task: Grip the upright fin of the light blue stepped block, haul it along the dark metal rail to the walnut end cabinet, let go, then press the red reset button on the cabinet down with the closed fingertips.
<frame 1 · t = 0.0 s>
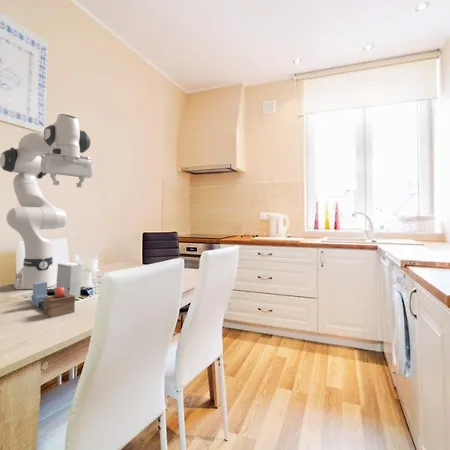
hand: (67, 186, 125), 48 cm above the table, tool pointing down, fingers open, 8 cm apart
reset button: (59, 291, 108), point 8 cm above the table, slide at 0.0 cm
light blue stepped block: (40, 293, 115), point 5 cm above the table, slide at 0.0 cm
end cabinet: (59, 313, 108), on the table
skincare box: (68, 297, 128), on the table
rail: (44, 308, 113), on the table
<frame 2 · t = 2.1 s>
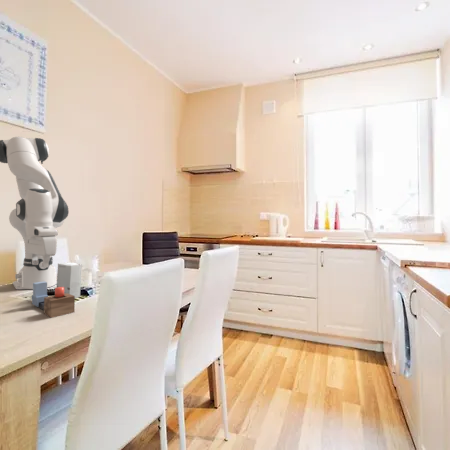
hand: (40, 266, 114), 16 cm above the table, tool pointing down, fingers open, 8 cm apart
nothing on the table moved.
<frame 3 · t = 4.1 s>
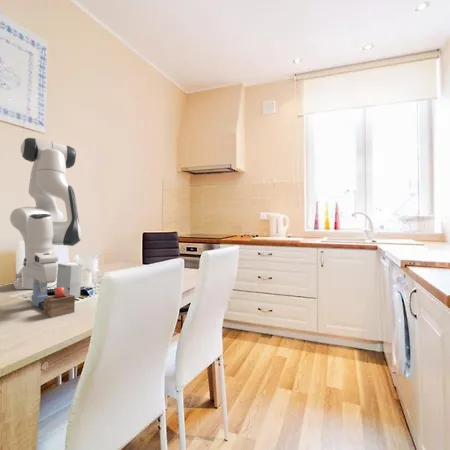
hand: (40, 290, 115), 6 cm above the table, tool pointing down, fingers closed on light blue stepped block, 2 cm apart
light blue stepped block: (40, 293, 115), point 5 cm above the table, slide at 0.0 cm, touching gripper
everything else where it was.
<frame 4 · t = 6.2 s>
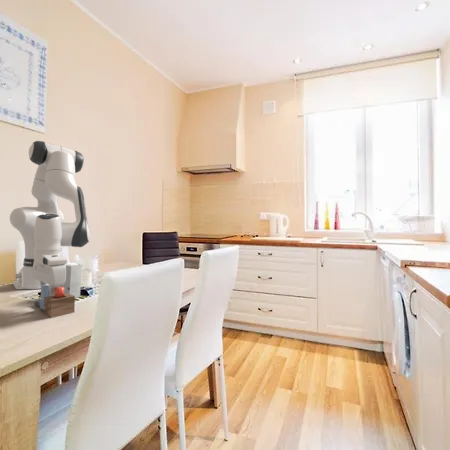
hand: (48, 294, 110), 6 cm above the table, tool pointing down, fingers open, 5 cm apart
reset button: (59, 291, 108), point 8 cm above the table, slide at 0.0 cm, touching gripper
light blue stepped block: (48, 297, 110), point 5 cm above the table, slide at 7.4 cm
everything else where it was.
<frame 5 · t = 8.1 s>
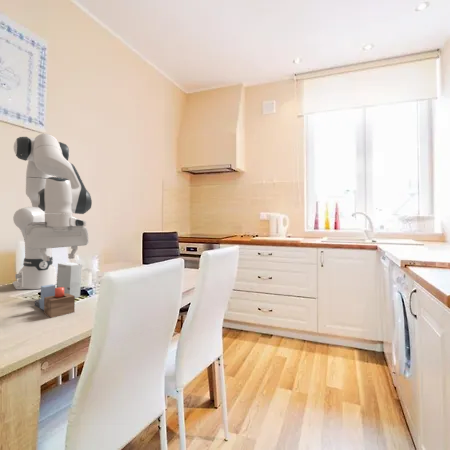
hand: (59, 259, 107), 20 cm above the table, tool pointing down, fingers open, 7 cm apart
reset button: (59, 292, 108), point 8 cm above the table, slide at 0.1 cm
everything else where it was.
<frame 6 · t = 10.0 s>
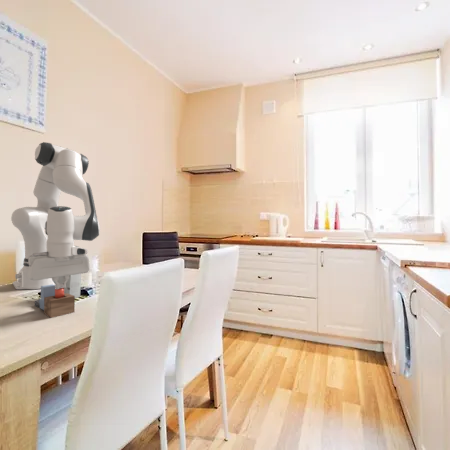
hand: (60, 288, 108), 9 cm above the table, tool pointing down, fingers closed, pressing on reset button
reset button: (59, 292, 108), point 7 cm above the table, slide at 0.3 cm, touching gripper
everything else where it was.
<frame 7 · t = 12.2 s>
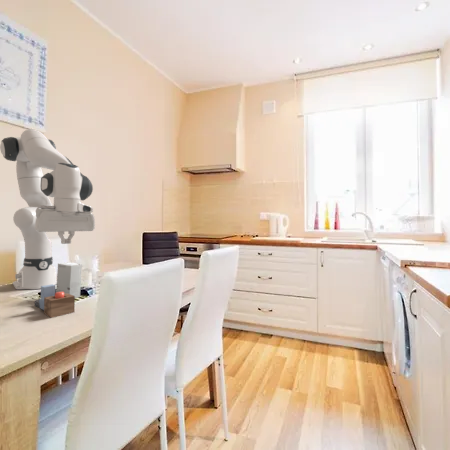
hand: (66, 243, 111), 25 cm above the table, tool pointing down, fingers closed
reset button: (59, 296, 108), point 6 cm above the table, slide at 1.8 cm
everything else where it was.
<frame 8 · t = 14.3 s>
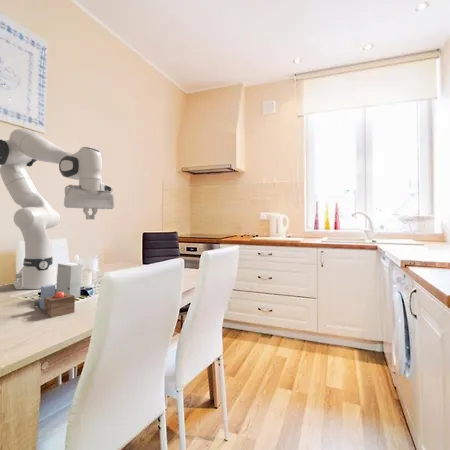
hand: (90, 219, 124), 34 cm above the table, tool pointing down, fingers closed
nothing on the table moved.
at the end: light blue stepped block slide at 7.4 cm; reset button slide at 1.8 cm; the gripper is holding nothing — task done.
